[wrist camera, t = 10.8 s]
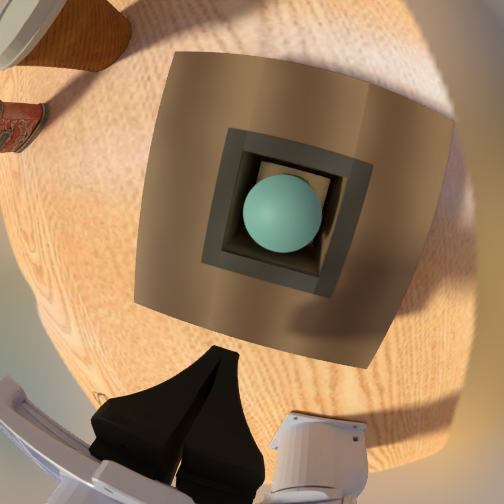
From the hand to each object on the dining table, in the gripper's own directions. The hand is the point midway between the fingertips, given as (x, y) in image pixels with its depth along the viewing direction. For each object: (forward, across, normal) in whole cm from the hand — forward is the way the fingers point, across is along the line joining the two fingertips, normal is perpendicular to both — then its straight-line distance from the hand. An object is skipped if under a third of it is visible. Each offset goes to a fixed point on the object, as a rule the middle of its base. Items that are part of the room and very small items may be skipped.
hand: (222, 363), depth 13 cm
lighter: (+9, +29, -10) cm, 32 cm away
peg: (+8, -1, -7) cm, 11 cm away
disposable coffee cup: (+9, +19, -19) cm, 29 cm away
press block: (+9, -1, -7) cm, 12 cm away
